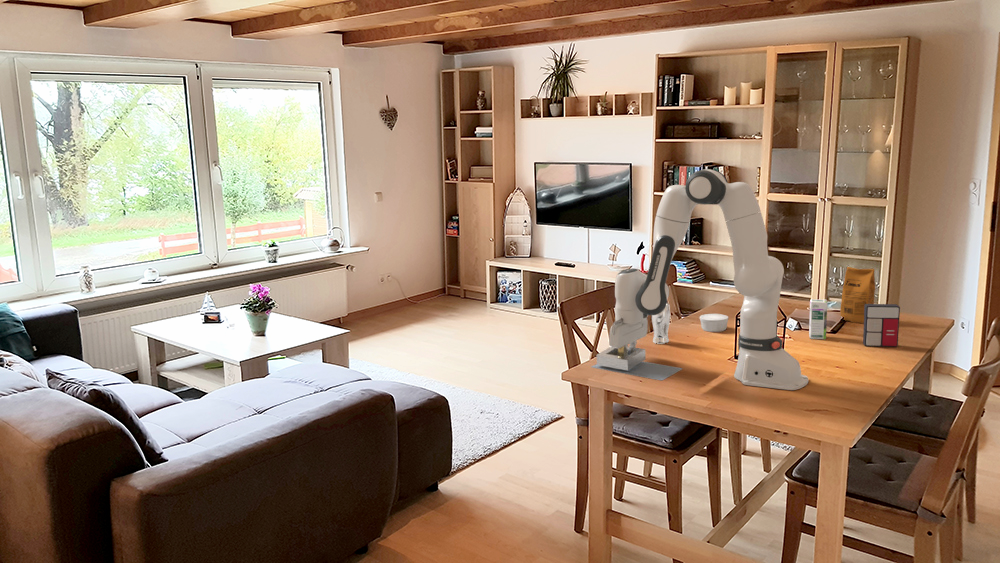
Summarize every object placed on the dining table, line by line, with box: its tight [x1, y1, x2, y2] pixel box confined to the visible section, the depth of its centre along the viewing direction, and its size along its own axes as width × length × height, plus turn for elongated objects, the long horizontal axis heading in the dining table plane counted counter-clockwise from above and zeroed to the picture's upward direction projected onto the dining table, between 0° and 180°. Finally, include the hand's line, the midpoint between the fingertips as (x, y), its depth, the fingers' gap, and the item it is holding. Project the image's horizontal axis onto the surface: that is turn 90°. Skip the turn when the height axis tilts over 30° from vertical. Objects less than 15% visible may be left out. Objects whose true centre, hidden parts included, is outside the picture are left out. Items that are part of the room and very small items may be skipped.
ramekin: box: [699, 313, 729, 333], centre depth 306 cm, size 11×11×5 cm
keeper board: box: [590, 361, 684, 381], centre depth 256 cm, size 27×15×2 cm, turn 50°
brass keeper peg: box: [618, 346, 624, 357], centre depth 258 cm, size 4×4×9 cm
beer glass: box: [651, 302, 671, 345], centre depth 290 cm, size 7×7×15 cm
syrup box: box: [808, 298, 828, 340], centre depth 287 cm, size 6×6×14 cm
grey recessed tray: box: [596, 346, 647, 371], centre depth 258 cm, size 12×12×4 cm
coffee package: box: [839, 266, 876, 324], centre depth 309 cm, size 10×12×22 cm
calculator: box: [862, 303, 901, 348], centre depth 273 cm, size 11×4×15 cm, turn 76°
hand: (628, 354), depth 262 cm, fingers closed on grey recessed tray, 2 cm apart
